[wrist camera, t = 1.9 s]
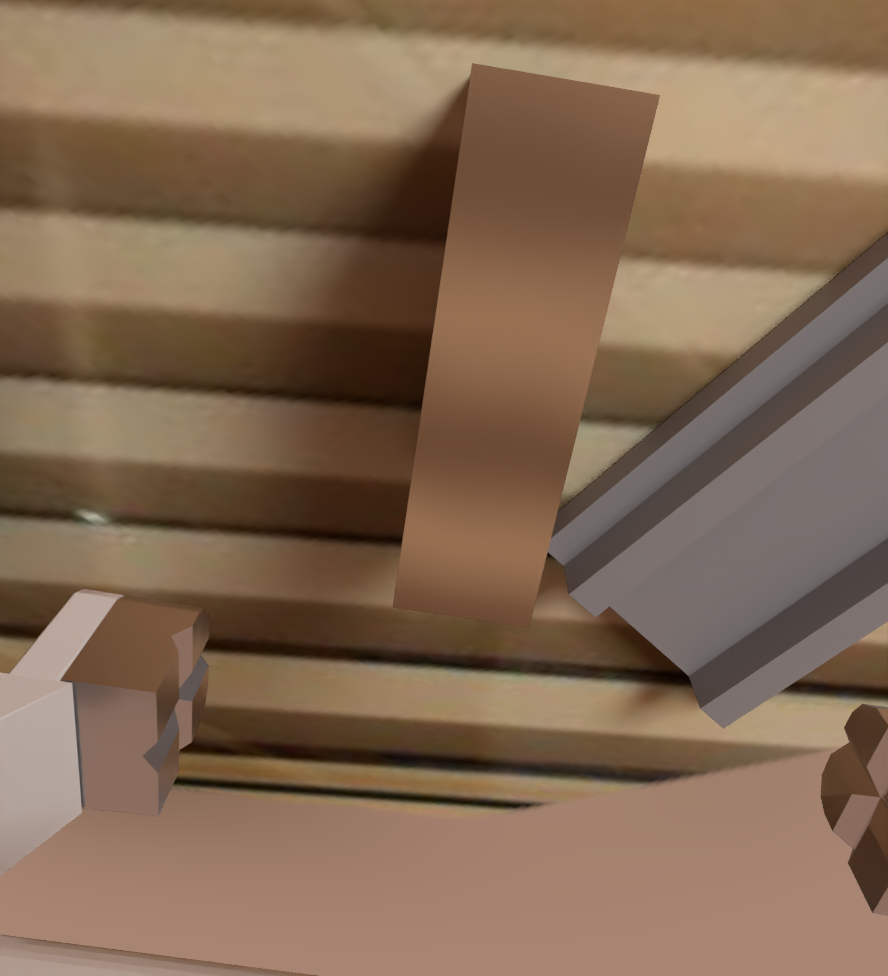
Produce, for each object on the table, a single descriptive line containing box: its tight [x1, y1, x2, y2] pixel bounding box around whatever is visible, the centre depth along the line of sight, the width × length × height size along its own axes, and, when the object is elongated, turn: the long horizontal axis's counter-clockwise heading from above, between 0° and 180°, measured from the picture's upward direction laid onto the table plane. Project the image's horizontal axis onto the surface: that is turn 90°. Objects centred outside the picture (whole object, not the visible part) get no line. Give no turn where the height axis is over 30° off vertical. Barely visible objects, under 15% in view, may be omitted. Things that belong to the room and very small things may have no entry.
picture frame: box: [393, 63, 660, 627], centre depth 24 cm, size 14×4×10 cm, turn 171°
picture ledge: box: [548, 233, 888, 728], centre depth 29 cm, size 21×12×4 cm, turn 136°
